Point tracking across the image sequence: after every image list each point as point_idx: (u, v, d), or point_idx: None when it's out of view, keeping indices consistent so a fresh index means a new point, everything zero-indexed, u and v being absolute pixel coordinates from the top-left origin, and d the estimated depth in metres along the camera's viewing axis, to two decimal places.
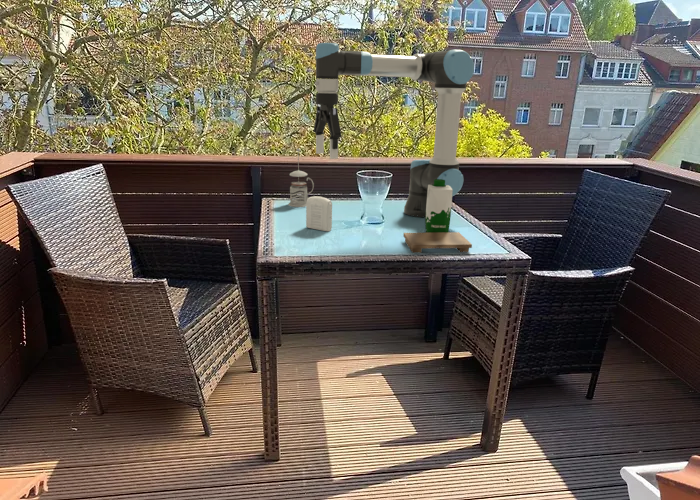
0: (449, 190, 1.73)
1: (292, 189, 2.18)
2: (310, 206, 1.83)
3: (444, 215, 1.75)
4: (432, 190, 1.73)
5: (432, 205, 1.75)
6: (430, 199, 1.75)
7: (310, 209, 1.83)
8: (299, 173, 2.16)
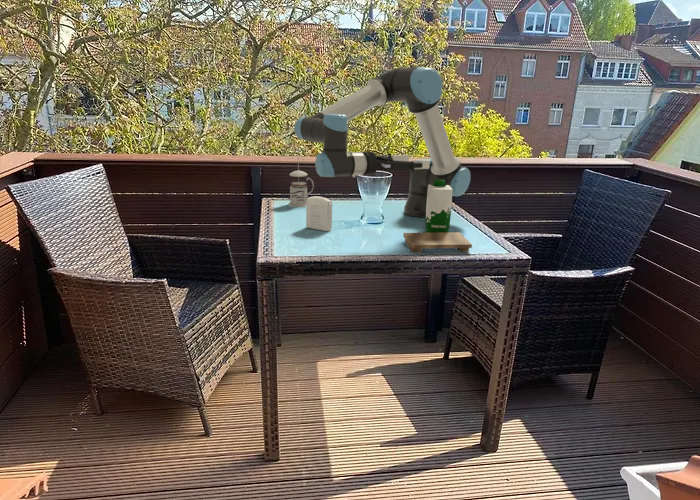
0: (449, 190, 1.73)
1: (292, 189, 2.18)
2: (310, 206, 1.83)
3: (444, 215, 1.75)
4: (432, 190, 1.73)
5: (432, 205, 1.75)
6: (430, 199, 1.75)
7: (310, 209, 1.83)
8: (299, 173, 2.16)
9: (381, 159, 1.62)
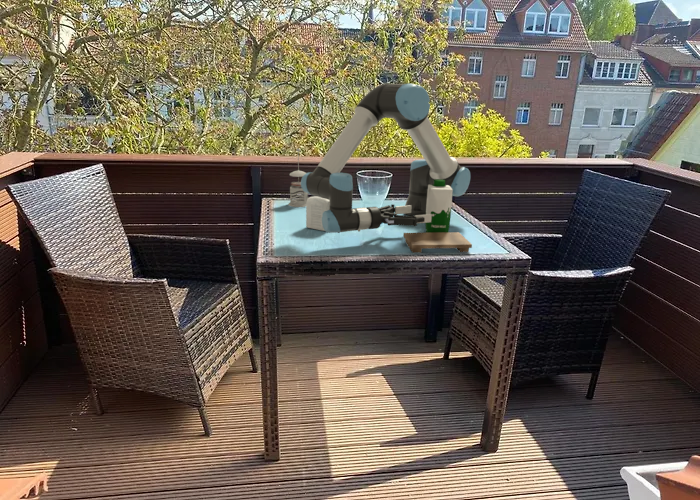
0: (449, 190, 1.73)
1: (292, 189, 2.18)
2: (310, 206, 1.83)
3: (444, 215, 1.75)
4: (432, 190, 1.73)
5: (432, 205, 1.75)
6: (430, 199, 1.75)
7: (310, 209, 1.83)
8: (299, 173, 2.16)
9: (385, 214, 1.68)
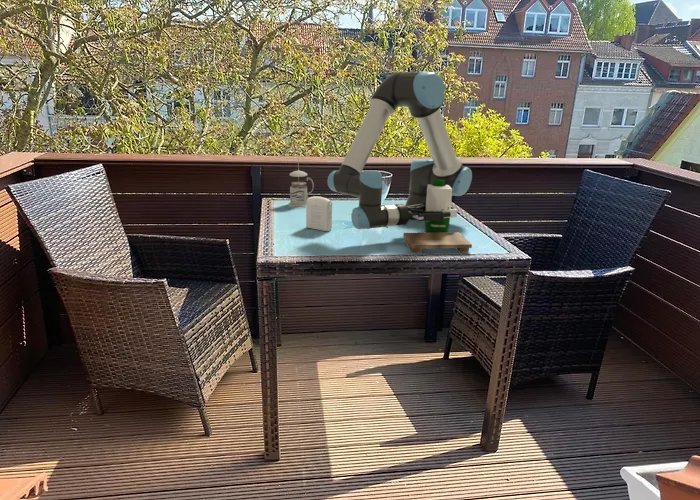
0: (449, 189, 1.73)
1: (292, 189, 2.18)
2: (310, 206, 1.83)
3: None
4: (432, 189, 1.73)
5: (431, 205, 1.76)
6: (430, 198, 1.76)
7: (310, 209, 1.83)
8: (299, 173, 2.16)
9: (413, 211, 1.73)
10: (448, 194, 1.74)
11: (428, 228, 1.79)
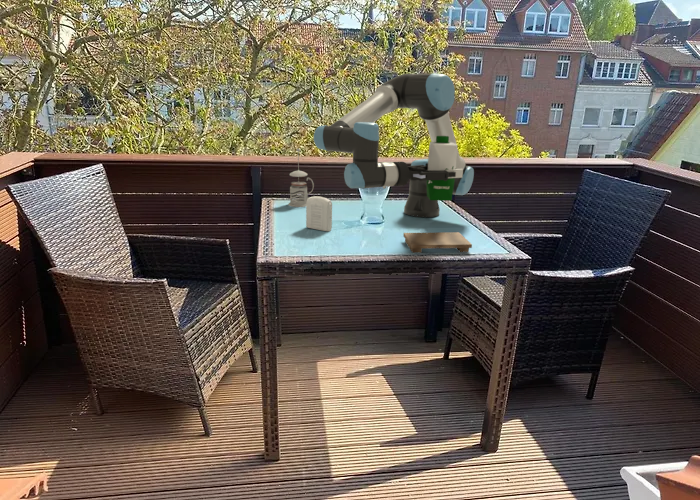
0: (453, 146, 1.55)
1: (292, 189, 2.18)
2: (310, 206, 1.83)
3: None
4: (434, 146, 1.55)
5: (434, 163, 1.57)
6: (432, 156, 1.57)
7: (310, 209, 1.83)
8: (299, 173, 2.16)
9: (413, 169, 1.54)
10: (453, 151, 1.55)
11: (430, 190, 1.60)
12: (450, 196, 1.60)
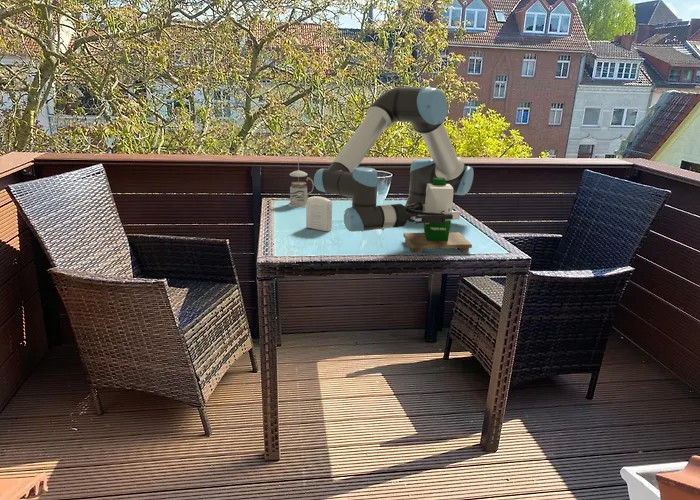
0: (450, 189, 1.59)
1: (292, 189, 2.18)
2: (310, 206, 1.83)
3: None
4: (431, 189, 1.59)
5: (431, 206, 1.61)
6: (429, 199, 1.61)
7: (310, 209, 1.83)
8: (299, 173, 2.16)
9: (410, 211, 1.58)
10: (449, 194, 1.59)
11: (427, 231, 1.64)
12: (446, 237, 1.64)
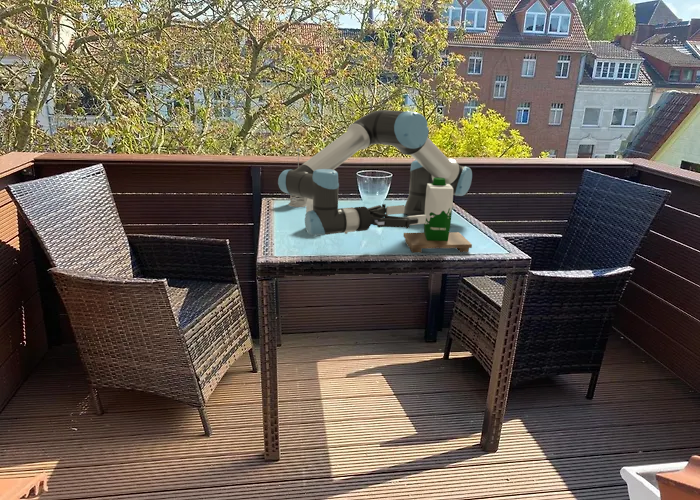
0: (450, 189, 1.59)
1: None
2: (310, 206, 1.83)
3: (444, 217, 1.61)
4: (431, 189, 1.59)
5: (431, 206, 1.61)
6: (429, 199, 1.61)
7: (310, 209, 1.83)
8: None
9: (374, 214, 1.53)
10: (449, 194, 1.59)
11: (427, 231, 1.64)
12: (446, 237, 1.64)
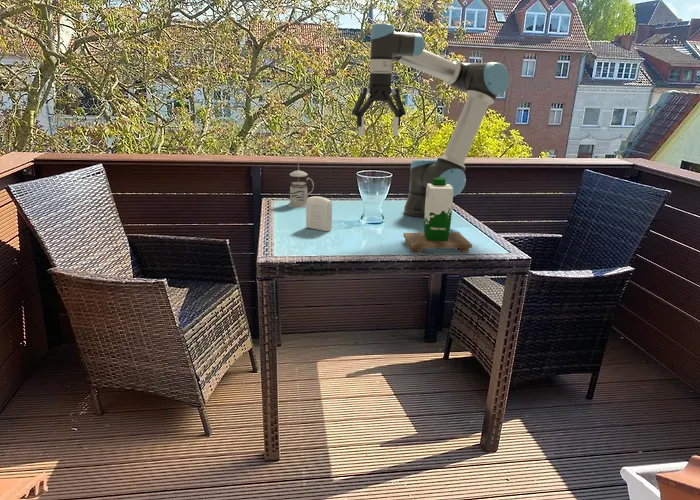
0: (450, 189, 1.59)
1: (292, 189, 2.18)
2: (310, 206, 1.83)
3: (444, 217, 1.61)
4: (431, 189, 1.59)
5: (431, 206, 1.61)
6: (429, 199, 1.61)
7: (310, 209, 1.83)
8: (299, 173, 2.16)
9: None
10: (449, 194, 1.59)
11: (427, 231, 1.64)
12: (446, 237, 1.64)
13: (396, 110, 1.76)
